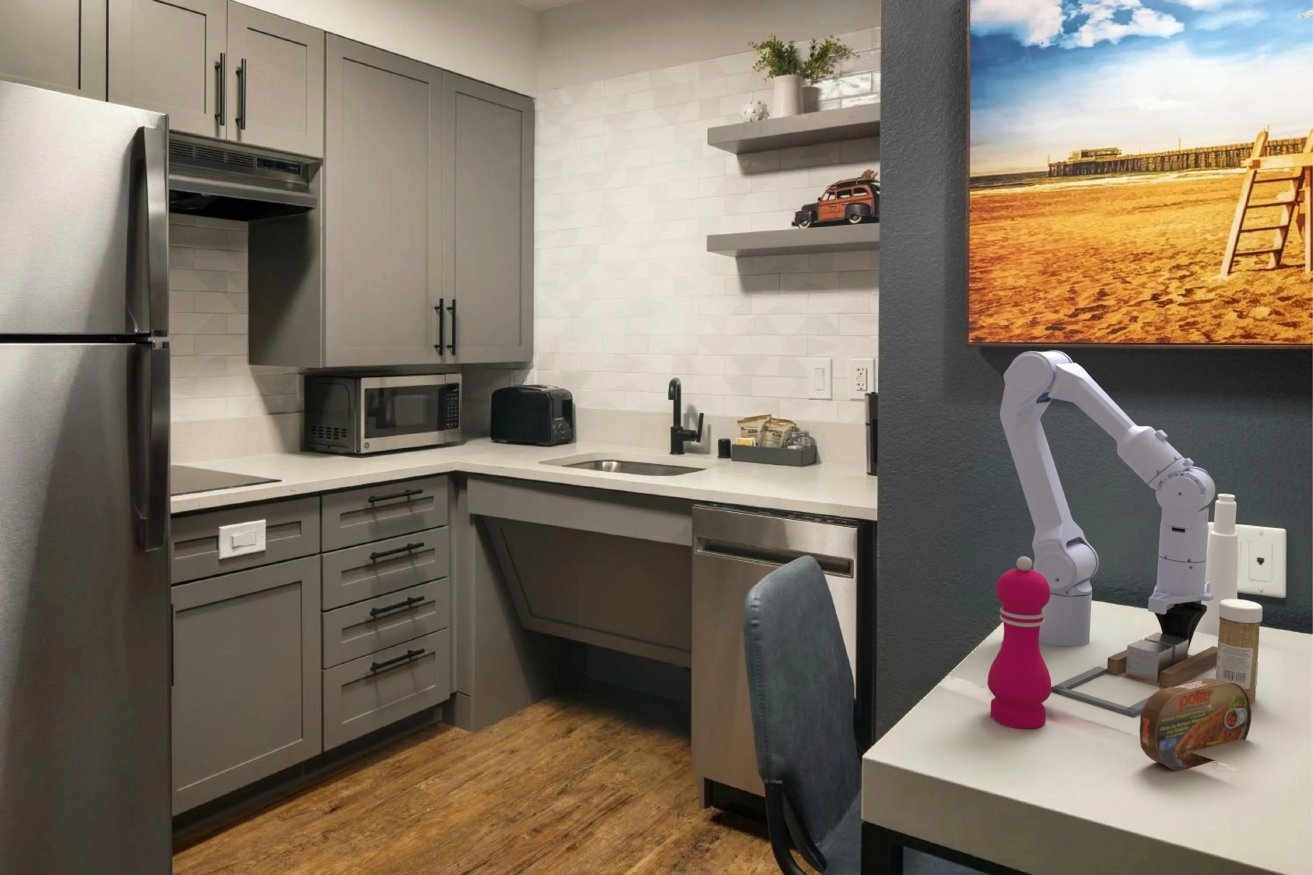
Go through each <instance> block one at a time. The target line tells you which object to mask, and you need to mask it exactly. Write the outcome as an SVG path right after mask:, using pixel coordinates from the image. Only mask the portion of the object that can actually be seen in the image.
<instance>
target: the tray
mask: <svg viewBox="0 0 1313 875" xmlns="http://www.w3.org/2000/svg"><path fill="white" fill-rule="evenodd" d="M1105 674H1108V673H1107V667H1103V666H1099V665H1097V666H1096V667H1094V668H1091V669H1089V670H1086V671H1084V672H1082V673H1080V674H1077V675H1076V676H1073V677H1071V678H1068V679H1067V680H1064V681H1061V682H1059V683H1058V684H1055V685H1053V686H1052V685H1051V690H1052V691H1051V693H1054V694H1057V695H1061V696H1063V697H1067V698H1070V699H1074V700H1076V701H1080V702H1083V703H1086V704H1090V705H1093V706H1097V707H1099V708H1103V709H1106V710H1109V711H1112V712H1114V713H1115V712H1116V713H1118V714H1122V715H1125V716H1128V717H1132V718H1136V717H1138V716H1139V715H1140V716H1141V712H1142V710H1143V707H1144V706H1145V704H1146V702H1147V701H1148V699H1149V698H1150V697H1151V696H1152V695H1150V696H1148V697H1146V698H1144V699H1142V700H1140V701H1138V702H1136V703H1135V704H1133V705H1130V706H1126V705H1123V704H1119V703H1116V702H1113V701H1109V700H1107V699H1104V698H1099V697H1096V696H1093V695H1089V694H1086V693H1082V692H1079V691H1077V690H1073V689H1074V688H1076V687H1078V686H1081V685H1083V684H1085V683H1087V682H1089V681H1092V680H1094V679H1096V678H1099V677H1100V676H1103V675H1105ZM1170 687H1172V686H1169V687H1167V688H1170Z"/></svg>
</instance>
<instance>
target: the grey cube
mask: <svg viewBox="0 0 1313 875" xmlns="http://www.w3.org/2000/svg"><path fill="white" fill-rule="evenodd" d="M1143 640H1146V641H1150V642H1154V643H1158V644H1162V645H1167V646H1171V647H1173V649H1172V666H1173V665H1175V664H1177V663H1179V662H1181V661H1183V660H1186V659H1188V654H1189V650H1188V643H1189V639H1185V638H1180V637H1176V636H1172V635H1168V634H1163V633H1162V632H1159V631H1157V632H1155V633H1154V634H1151V635H1148V636H1146V637H1144V638H1143Z"/></svg>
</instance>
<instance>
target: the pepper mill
mask: <svg viewBox="0 0 1313 875" xmlns="http://www.w3.org/2000/svg"><path fill="white" fill-rule="evenodd" d="M1015 565H1016V568H1012V569H1010V570H1007V571H1005V572H1004V573H1002V574H1001V576H1000V577H999V579H998V580H997V584H996V595H997V598H998V600H999V601H1000V602H1001V604H1002V606H1001V607H1000V608H999V612H1000V615H999V620H1000V621H1002V623H1003V639H1002V643H1001V646H1000V649H999V651H998V652H997V654H996V656H995V658H994V659H993V661H992V663H991V665H990V669H989V671H988V675H987V687H988V689H989V691H990V693H991V694H992V695H993V696H994V698H992V699H991V700H990V712H989V713H990V717H991V718H992V719H993V720H994V721H995V722H996V723H998V724H1000V725H1003V726H1005V727H1010V728H1014V729H1022V730H1031V729H1038V728H1041V727H1043V726H1044V725H1045V724H1046V723H1047V722H1046V721H1047V720H1046V718H1047V707H1046V706H1045V705H1044V704H1043V703H1045V701H1047V700H1048V698H1049V697H1050V695H1051V694H1052V692H1051V691H1052V690H1051V687H1052V679H1051V675H1050V671H1049V669H1048V667H1047V664H1046V662H1045V660H1044V657H1043V654H1042V652H1041V647H1040V640H1039V631H1040V626H1041V625H1043V624H1044V622H1045V621H1044V616H1045V612H1044V611H1043V610H1042V608H1043V607H1044V606H1045V605H1046V604H1047V603H1048V601H1049V599H1050V587H1049V584H1048V582H1047V580H1046V578H1045V577H1044V576H1043V575H1041V574H1040V573H1038V572H1036V571H1034V570H1033V569H1032V567H1033V561H1032V559H1031V558H1030V557H1028V556H1020V557H1018V559H1017V560H1016V563H1015Z"/></svg>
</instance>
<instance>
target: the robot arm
mask: <svg viewBox="0 0 1313 875" xmlns="http://www.w3.org/2000/svg"><path fill="white" fill-rule="evenodd" d="M1003 379H1004V390H1003V395H1002V399H1001V405H1000V410H999V417H1000V418H999V419H1000V422H1001V425H1002V428H1003V432H1004V434H1005V437H1006V440H1007V443H1008V447H1009V450H1010V454H1011V457H1012V460H1013V463H1014V466H1015V469H1016V472H1017V475H1018V478H1019V479H1018V480H1019V482H1020V484H1021V487H1022V492H1023V494H1024V497H1025V499H1026V504H1027V507H1028V510H1029V513H1030V515H1031V516H1030V517H1031V520H1032V522H1033V526H1034V529H1035V530H1034V535H1033V540H1032V544H1031V547H1032V550H1033V553H1034V560H1033V561H1034V562H1033V565H1032V567H1033V569H1032V570H1034V571H1036V572H1038V573H1040V574H1041V575H1043V576H1044V577H1045V578H1046V580H1047V582H1048V584H1049V587H1050V599H1049V601H1048V603H1047V604H1046V605H1045V606H1044V607H1043V608H1042V610H1043V611H1044V612H1045V616H1044V621H1045V622H1044V624H1043V625H1041V626H1040V631H1039V641H1042V642H1044V643H1047V644H1050V645H1055V646H1061V647H1082V646H1083V647H1085V646H1087V645H1088V644H1090V636H1091V616H1092V598H1093V596H1092V595H1093V593H1092V592H1093V587H1092V585H1091V583H1090V582H1091V579H1092V578H1093V577H1094V576H1095V575H1096V573H1097V572H1098V570H1099V566H1100V562H1099V556H1098V553H1097V551H1096V550H1095V548H1094V547H1092V545H1091V544H1090V543H1089V542H1088V541H1087V539H1086V536H1085V534H1084V531H1083V530H1082V528H1081V527H1080V526H1079V525H1078V524H1077V523H1076V522H1075V521H1074V520H1073V517H1072V514H1071V510H1070V508H1069V505H1068V501H1067V499H1066V496H1065V492H1064V489H1063V487H1062V484H1061V480H1060V477H1059V474H1058V472H1057V468H1056V465H1055V461H1054V458H1053V456H1052V455H1053V454H1052V453H1051V449H1050V446H1049V443H1048V440H1047V437H1046V434H1045V430H1044V427H1043V425H1042V422H1041V417H1042V416H1043V414H1044V413H1045V411H1046V410H1047V408H1048V406H1049V405H1050V403H1051V402H1052V400H1054V399H1055V400H1061V401H1066V402H1070V403H1074V404H1075V405H1076V406H1077V407H1078V408H1079V409H1081V411H1082V412H1084V414H1086V415H1087V416H1088V417H1089V418H1090V419H1092V420H1093V421H1094V422H1095V424H1097V425H1098V426H1099V427H1101V428H1102V429H1103V431H1105V433H1107V434H1108V435H1109V436H1111V437H1112V438H1113V439H1114V440H1115V441H1116V452H1117V456H1118V457H1119V458H1121V460H1123V462H1124V463H1125V464H1126V465H1127V466H1128V467H1129V468H1130V469H1131V470H1132V471H1133V472H1134V473H1136V475H1137V476H1139V478H1141V480H1142V481H1144V482H1145V484H1147V485H1148V487H1150V488H1151V489H1153V490H1155V498H1156V500H1157V503H1158V505H1159V506H1160V508H1161V519H1160V520H1161V522H1160V523H1159V524H1160V525H1159V526H1160V527H1159V542H1158V561H1157V574H1156V575H1157V576H1156V585H1155V586H1154V588H1153V592H1152V595H1151V596H1149V597H1148V605H1147V611H1148V612H1150V613H1154V615H1155V617H1156V618H1157V621H1158V623H1159V625H1160V629H1161V633H1163V634H1168V635H1172V636H1176V637H1180V638H1185V639H1189V643H1188V651H1189V650H1190V646H1191V643H1192V640H1193V637H1194V634H1195V632H1196V631H1195V629H1196V627H1197V625H1198V623H1199V621H1200V620H1201V618H1202V617H1203V615H1204V614H1205V613H1206V611H1207V606H1206V605H1204V604H1201V603H1199V601H1201V602H1202V601H1211V600H1213V599H1214V594H1210V593H1209V592H1210V582H1206V581H1205V576H1206V563H1207V554H1208V546H1209V530H1210V529H1209V514H1210V513H1209V512H1210V511H1209V510H1210V509H1209V508H1210V507H1207V506H1208V505H1209V504H1210V503H1211V502H1212V501H1213V499H1214V497H1215V495H1216V486H1215V482H1214V479H1213V478H1212V477H1211V476H1210V475H1209V473H1208V471H1207V470H1206V469H1204V468H1201V467H1198V466H1193V465H1194V463H1195V462H1194V461H1193V460H1192V459H1191V458H1190V457H1188V458H1185V457H1184V456H1182V454H1181V453H1179V452H1178V450H1177V449H1175V447H1173V446H1172V445H1171V444H1170V443H1169V442H1168V441H1167V440H1166V439H1167V438H1168V434H1167V433H1166V432H1164V430H1163V429H1160V430H1155V428H1153V427H1152V426H1148V425H1145V426H1144V425H1142V426H1141V425H1140V426H1139V425H1137V424H1136V423H1135V422H1134V421H1133V420H1132V419H1131V418H1130V417H1129V416H1128V414H1126V413H1125V412H1124V411H1123V410H1122V409H1121V408H1120V406H1119V405H1118V404H1117V403H1116V402H1115V401H1114V400H1113V399H1112V398H1111V397H1110V396H1109V395H1108V393H1107V392H1106V391H1104V390H1103V388H1102V387H1101V386H1100V385H1099V384H1098V383H1097V382H1096V381H1095V380H1094V379H1093V378H1092V376H1090V375H1089V374H1088V372H1087V371H1086V370H1085V368H1083V367H1082V366H1081V365H1079V364H1078V363H1077V362H1073V360H1072V359H1071V357H1070V356H1069V355H1067V354H1066V353H1065V352H1063V351H1060V350H1047V351H1032V350H1029V351H1024V352H1021V354H1020V353H1019V354H1018V355H1017V356H1016V357H1015V358H1014V359H1013V361H1012V362H1011V364H1010V365H1009V367H1008V368H1007V369H1006V370H1005V372H1004V374H1003Z"/></svg>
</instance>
